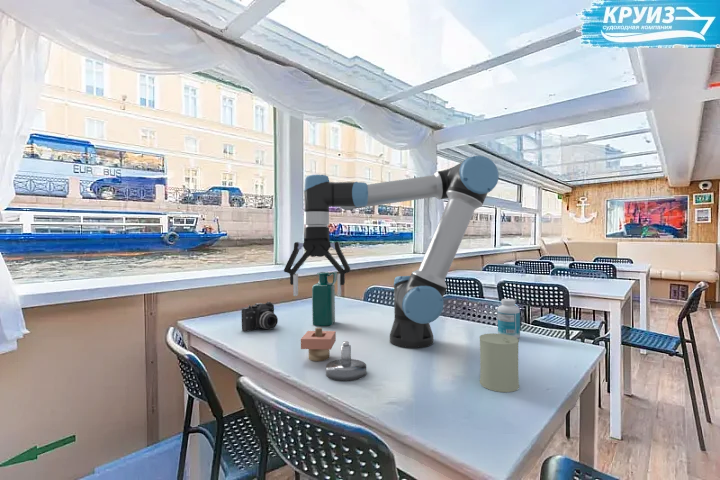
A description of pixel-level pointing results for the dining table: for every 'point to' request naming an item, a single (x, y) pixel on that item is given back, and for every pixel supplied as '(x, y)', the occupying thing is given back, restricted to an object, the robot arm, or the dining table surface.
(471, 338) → the dining table surface
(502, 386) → the can
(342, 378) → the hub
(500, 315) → the pill bottle
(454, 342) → the dining table surface
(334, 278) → the green bottle
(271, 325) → the camera
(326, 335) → the terracotta clay block
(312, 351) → the stand
